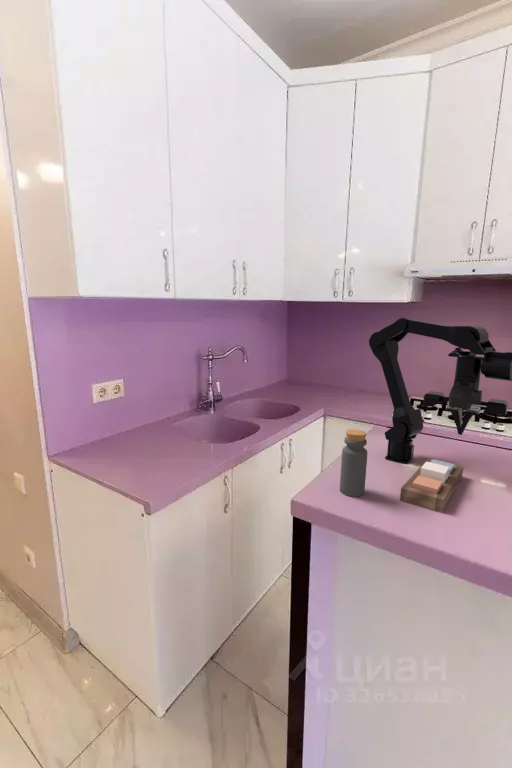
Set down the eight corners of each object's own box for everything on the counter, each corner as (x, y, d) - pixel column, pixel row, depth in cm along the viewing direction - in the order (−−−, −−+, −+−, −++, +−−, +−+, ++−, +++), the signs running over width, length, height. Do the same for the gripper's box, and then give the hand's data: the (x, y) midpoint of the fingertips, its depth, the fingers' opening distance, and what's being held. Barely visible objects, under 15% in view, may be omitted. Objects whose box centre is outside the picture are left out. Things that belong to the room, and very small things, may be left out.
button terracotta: (410, 496, 89) (412, 482, 88) (417, 488, 93) (418, 475, 92) (435, 503, 85) (437, 489, 85) (441, 495, 90) (442, 481, 89)
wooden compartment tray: (399, 500, 88) (401, 488, 87) (426, 469, 107) (427, 458, 106) (441, 512, 83) (443, 500, 82) (461, 477, 101) (463, 467, 101)
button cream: (419, 481, 94) (421, 467, 93) (425, 474, 98) (426, 461, 97) (443, 487, 91) (444, 473, 90) (448, 480, 95) (449, 466, 94)
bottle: (365, 488, 94) (369, 430, 91) (363, 498, 88) (368, 437, 86) (341, 484, 96) (344, 427, 93) (338, 494, 90) (342, 433, 87)
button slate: (426, 477, 100) (427, 465, 99) (431, 471, 104) (432, 459, 103) (448, 483, 96) (450, 470, 96) (452, 476, 101) (454, 464, 100)
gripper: (420, 375, 96) (414, 434, 99) (508, 384, 85) (498, 450, 88) (431, 370, 105) (425, 425, 107) (512, 378, 94) (503, 439, 96)
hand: (460, 434), depth 99 cm, fingers closed
